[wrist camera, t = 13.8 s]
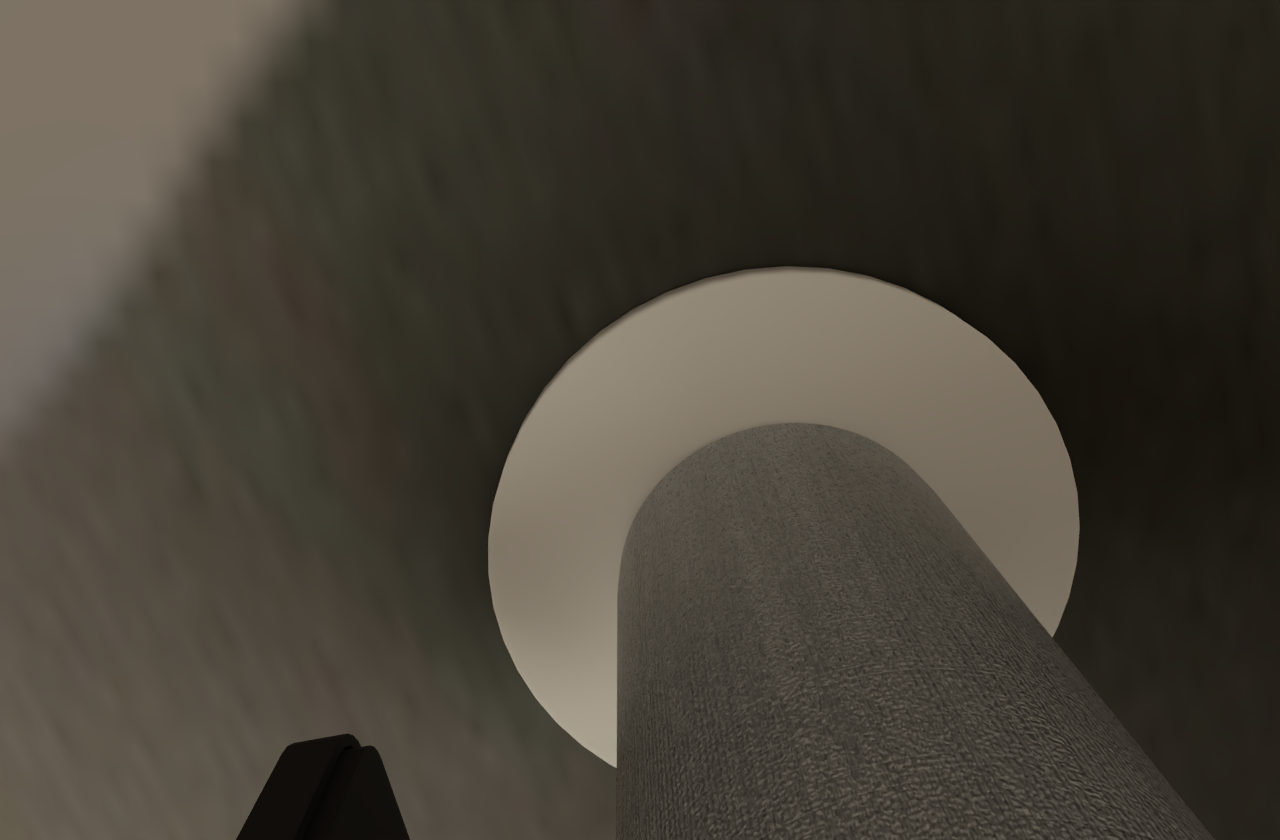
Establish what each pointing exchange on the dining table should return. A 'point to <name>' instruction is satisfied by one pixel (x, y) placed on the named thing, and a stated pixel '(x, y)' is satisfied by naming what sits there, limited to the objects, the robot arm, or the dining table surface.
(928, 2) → the dining table surface
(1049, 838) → the grey upright cylinder
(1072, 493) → the white mat
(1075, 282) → the dining table surface
